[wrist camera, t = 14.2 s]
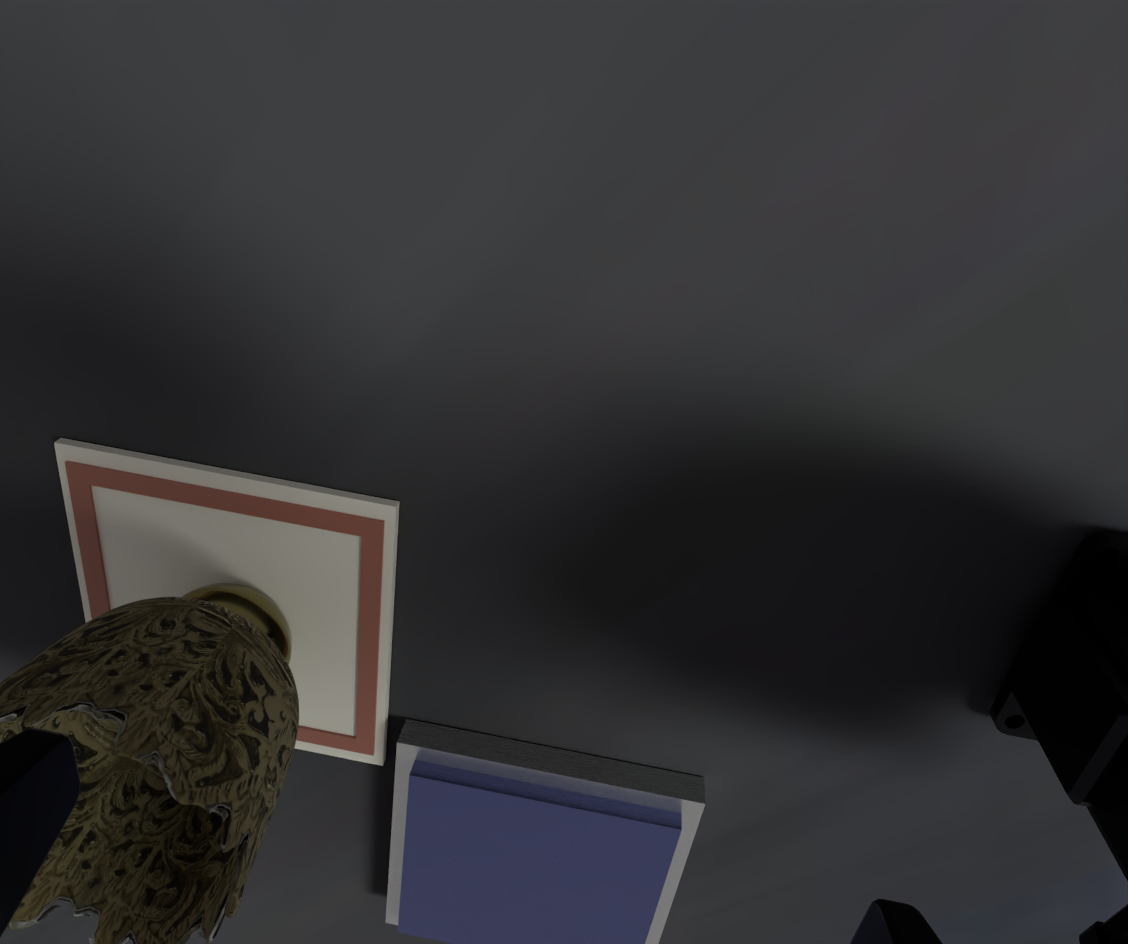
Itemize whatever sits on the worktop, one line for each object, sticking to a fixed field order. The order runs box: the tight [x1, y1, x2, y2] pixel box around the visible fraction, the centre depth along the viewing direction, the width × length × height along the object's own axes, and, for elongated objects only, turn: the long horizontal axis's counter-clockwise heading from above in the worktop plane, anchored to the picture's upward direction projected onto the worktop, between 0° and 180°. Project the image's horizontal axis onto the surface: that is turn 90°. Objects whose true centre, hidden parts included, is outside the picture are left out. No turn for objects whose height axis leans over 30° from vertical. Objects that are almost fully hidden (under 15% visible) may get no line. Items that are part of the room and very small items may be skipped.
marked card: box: [54, 438, 400, 766], centre depth 24 cm, size 10×10×1 cm
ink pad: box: [386, 719, 705, 944], centre depth 27 cm, size 10×9×2 cm
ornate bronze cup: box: [0, 583, 299, 944], centre depth 21 cm, size 8×7×8 cm
